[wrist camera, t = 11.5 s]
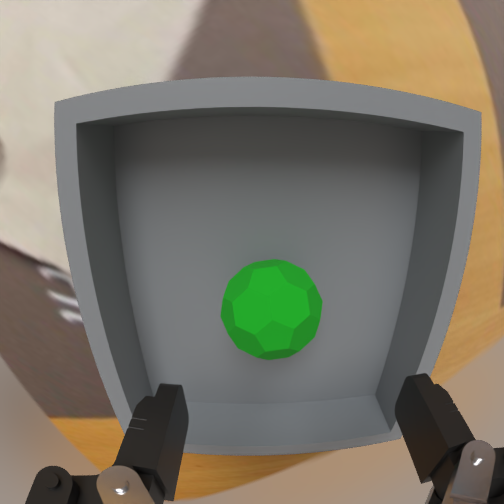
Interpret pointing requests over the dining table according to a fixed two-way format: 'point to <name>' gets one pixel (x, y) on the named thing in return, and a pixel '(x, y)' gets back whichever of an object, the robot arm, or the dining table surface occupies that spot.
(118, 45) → the dining table surface
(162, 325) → the crate
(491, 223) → the dining table surface
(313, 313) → the polyhedron
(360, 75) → the dining table surface
